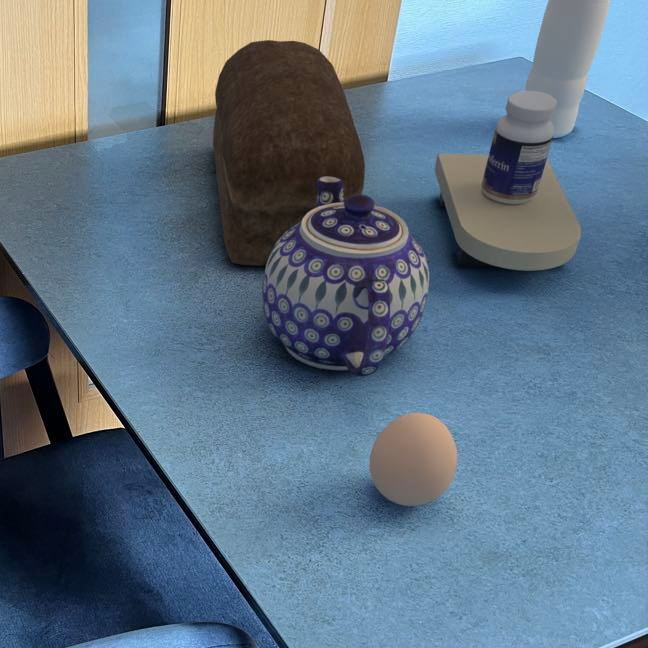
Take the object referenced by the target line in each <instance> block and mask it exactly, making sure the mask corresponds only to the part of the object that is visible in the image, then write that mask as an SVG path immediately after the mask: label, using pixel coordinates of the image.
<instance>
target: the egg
mask: <svg viewBox="0 0 648 648" xmlns="http://www.w3.org/2000/svg"><path fill="white" fill-rule="evenodd" d="M457 465H458V448H457V445H456V441H455V439H454V436H453V435H452V433H451V431H450V430H449V428H448V426H447V425H446V424H445V423H444V422H443V421H442V420H440V419H439V418H437V417H436V416H434V415H432V414H430V413H424V412H410V413H405V414H404V415H401V416H399V417H397V418H395V419H394V420H393V421H391V422H390V423H388V424H387V425H386V426H385V427H384V429H382V431H380V433H379V434H378V435H377V437H376V439H375V441H374V442H373V445H372V446H371V451H370V454H369V465H368V466H369V474H370V477H371V480H372V482H373V485H374V486H375V488H376V489H377V490H378V492H379V493H380V494H381V495H382V496H383V497H385V499H387V500H388V501H390V502H392V503H394V504H397V505H400V506H403V507H418V506H423V505H426V504H429V503H431V502H433V501H435V500H437V499H438V498H439V497H440V496H442V495H443V494H444V493H445V492H446V491H447V490H448V489H449V487H450V486H451V485H452V482H453V480H454V479H455V476H456V472H457V467H458V466H457Z"/></svg>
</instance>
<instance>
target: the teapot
mask: <svg viewBox="0 0 648 648" xmlns="http://www.w3.org/2000/svg"><path fill="white" fill-rule="evenodd" d="M317 188H318V196H317V208H315V209H313V210H311V211H310V212H308V213H307V214H306V215H305V216H304V217H303V219H302V222H301V223H299V224H297V225H295V226H293V227H292V228H290V229H289V230H288V231H287V232H286V233H285V234H284V235H283V236H282V237H281V238H280V239H279V240H278V241H277V243H276V244H275V246H274V248H273V250H272V251H271V253H270V256H269V259H268V261H267V265H266V266H265V269H264V274H263V278H262V286H261V287H262V289H261V296H262V297H261V298H262V311H263V316H264V319H265V321H266V325H267V328H269V331H270V332H271V334H272V336H274V337H275V339H277V340H278V342H280V343H281V344H282V345H283V346H284V347H285V349H286V351H287V352H288V353H289V354H290V356H292V357H293V358H295V360H298V361H300V362H301V363H303V364H306V365H308V366H310V367H314V368H317V369H321V370H326V371H327V370H328V371H343V372H344V371H349V372H350V373H351V374H352V375H355V376H359V377H366V376H369V375H372V374H374V373H376V372H377V371H378V369H379V368H380V367H381V365H382V362H383V359H384V358H385V357H387V356H388V355H391V354H392V353H394V352H395V351H397V350H399V349H400V348H401V347H403V346H404V345H405V344H406V343H407V341H408V340H409V339H410V338H411V337H412V336H413V334H414V332H415V331H416V329H417V327H418V326H419V324H420V322H421V319H422V316H423V315H424V311H425V308H426V304H427V301H428V296H429V288H430V269H429V263H428V260H427V257H426V255H425V252H424V250H423V248H422V247H421V245H420V244H419V243H418V241H417V240H415V238H413V236H411V234H410V232H409V227H408V225H407V224H406V221H405V220H404V219H403V218H402V217H400V216H399V215H398V214H397V213H395V212H394V211H391V210H389V209H388V208H385V207H383V206H378V205H375V201H374V200H373V198H372V197H371V196H369V195H365V194H362V195H360V194H355V195H351V196H349V197H348V198H346V199H345V201H344V202H343V181H342V180H340V179H338V178H335V177H328V176H325V177H321V178H319V179H318V180H317Z"/></svg>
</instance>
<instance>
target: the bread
mask: <svg viewBox="0 0 648 648" xmlns="http://www.w3.org/2000/svg"><path fill="white" fill-rule="evenodd" d="M214 99H215V106H216V110H215V113H214V114H215V115H214V123H213V132H212V147H213V156H214V162H215V163H214V164H215V177H216V182H217V189H218V194H219V195H218V197H219V211H220V220H221V224H222V233H223V242H224V246H225V247H224V248H225V250H226V252H227V254H228V257H229V260H230V261H231V263H232V264H237V265H242V266H257V267H258V266H262V267H266V265H267V261H268V259H269V256H270V253H271V251H272V250H273V248H274V246H275V244H276V243H277V241H278V240H279V239H280V238H281V237H282V236H283V235H284V234H285V233H286V232H287V231H288V230H289V229H290V228H292V227H293V226H295V225H297V224H299V223H301V222H302V219H303V217H304V216H305V215H306V214H307V213H308V212H310V211H311V210H313V209H315V208H317V196H318V188H317V180H318V179H319V178H321V177H325V176H328V177H335V178H338V179H340V180H342V181H343V202H344V201H345V199H346V198H348V197H349V196H351V195H355V194H360V195H363V190H364V185H365V174H366V165H365V157H364V152H363V147H362V143H361V141H360V138H359V134H358V131H357V129H356V127H355V123H354V118H353V115H352V111H351V109H350V107H349V103H348V100H347V97H346V93H345V90H344V88H343V86H342V83H341V81H340V79H339V77H338V74H337V71H336V70H335V67H334V65H333V64H332V63H331V62H330V60H329V59H328V57H326V55H324V54H323V52H322V51H321V50H320V49H319V48H316V47H314V46H312V45H310V44H308V43H306V42H302V41H297V40H281V41H280V40H273V39H272V40H271V39H268V40H267V39H266V40H257V41H251V42H249V43H247V44H246V45H244V46H242V47H241V48H239V49H238V50H237V51H236V52H234V54H232V55H231V56H230V57H229V58H228V59H227V60H226V61H225V63H224V64H223V67H222V69H221V71H220V73H219V75H218V78H217V82H216V87H215V93H214Z"/></svg>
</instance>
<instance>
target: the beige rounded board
mask: <svg viewBox="0 0 648 648" xmlns="http://www.w3.org/2000/svg"><path fill="white" fill-rule="evenodd" d="M488 156H489V154H484V153H483V154H482V153H481V154H480V153H479V154H476V153H437V154H436V160H435V164H434V174H435V177H436V180H437V184H438V186H439V189H440V192H439V197H438V200H439V204H440V207H441V208H445V210H446V212H447V216H448V219H449V222H450V226H451V228H452V232H453V235H454V238H455V241H456V243H457V245H458V246H457V251H456V255H455V256H456V260H457V263H458V266H466V267H467V266H470V267H471V266H473V267H497V268H502V269H506V270H507V269H508V270H515V271H528V272H530V271H532V272H533V271H534V272H535V271H543V270H545V271H546V270H550V269H556V268H557V267H561V266H563V265H565V264H567V263H568V262H569V261H570V260H571V259H572V258H573V257H574V256H575V254H576V251H577V248H578V245H579V243H580V239H581V236H582V226H581V224H580V222H579V220H578V218H577V216H576V214H575V212H574V209H573V207H572V206H571V204H570V202H569V199H568V197H567V195H566V193H565V191H564V189H563V187H562V186H561V185H562V184H561V182H560V181H559V180H558V177H557V175H556V173H555V171H554V169H553V167H552V165H551V163H550V161H549V159H548V158H547V160H546V164H545V167H544V171H543V174H542V178H541V181H540V185H539V188H538V191H537V194H536V196H535V197H534V198H533V199H532V200H531V201H529V202H526V203H522V204H504V203H500V202H497V201H494V200H492V199H490V198H488V197H487V196H486V195H485V194H484V193H483V192H482V189H481V186H482V181H483V177H484V173H485V168H486V165H487V161H488Z"/></svg>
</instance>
